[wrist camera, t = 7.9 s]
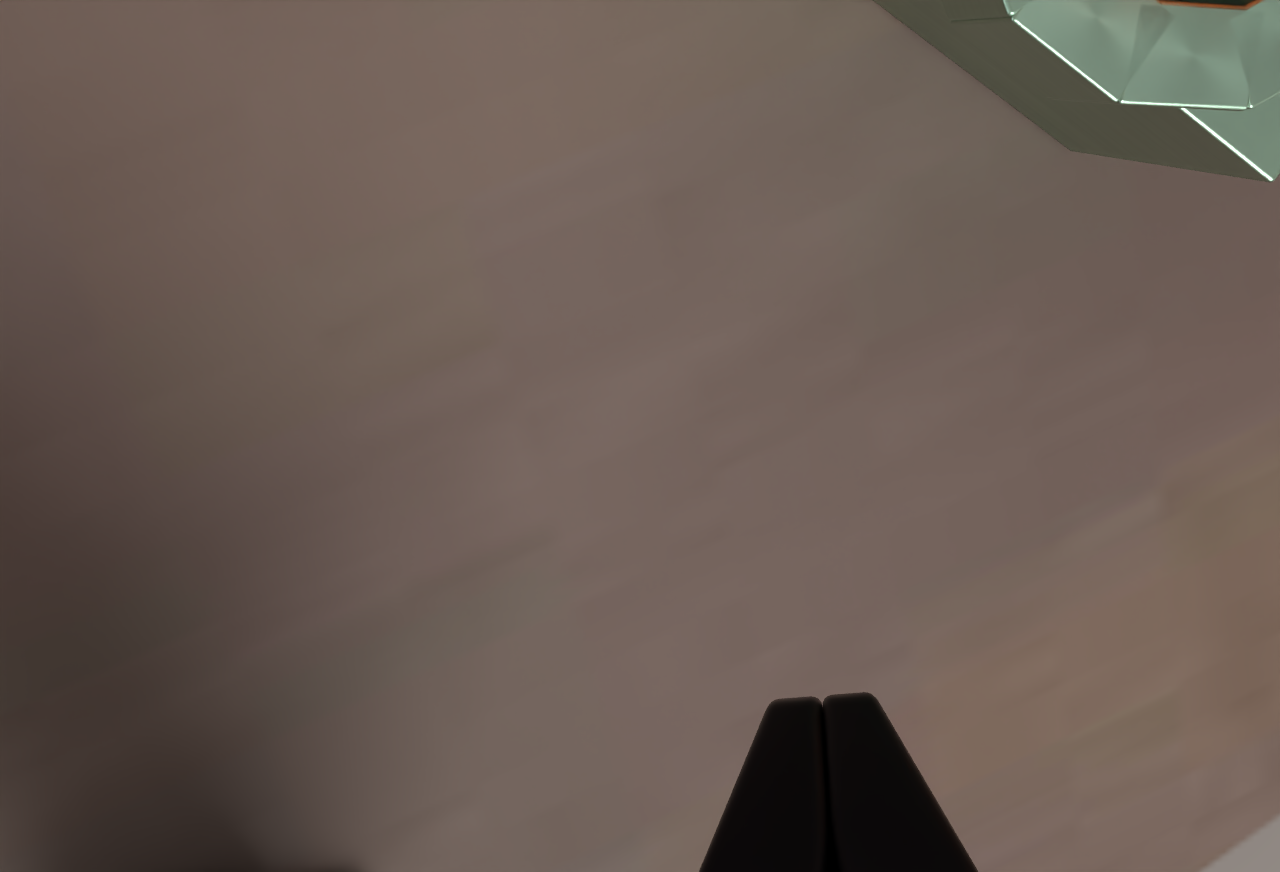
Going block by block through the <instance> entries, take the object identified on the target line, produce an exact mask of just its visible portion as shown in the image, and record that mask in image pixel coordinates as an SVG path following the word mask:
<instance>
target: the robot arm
mask: <svg viewBox="0 0 1280 872" xmlns="http://www.w3.org/2000/svg"><path fill="white" fill-rule="evenodd" d="M699 872H978V870H977V869H976V867H975V865H974V864H973V862H972V860H971V858H970V857H969V855H968V853H967V852H966V850H965V848H964V846H963V845H962V843H961V841H960V840H959V838H958V836H957V835H956V833H955V831H954V829H953V828H952V826H951V824H950V823H949V821H948V819H947V817H946V816H945V814H944V812H943V811H942V809H941V807H940V806H939V804H938V802H937V800H936V799H935V797H934V795H933V794H932V792H931V790H930V788H929V787H928V785H927V783H926V782H925V780H924V778H923V777H922V775H921V773H920V771H919V770H918V768H917V766H916V765H915V763H914V761H913V760H912V758H911V756H910V754H909V753H908V751H907V749H906V748H905V746H904V744H903V742H902V741H901V739H900V737H899V736H898V734H897V732H896V731H895V729H894V727H893V725H892V724H891V722H890V720H889V719H888V717H887V715H886V713H885V712H884V710H883V708H882V707H881V705H880V703H879V702H878V700H877V699H876V698H875V697H874V696H873V695H872V694H870V693H867V692H862V693H849V694H837V695H830V696H828V697H826V698H825V699H824V701H823V707H822V703H821V701H820V700H819V699H818V698H816V697H798V698H785V699H777V700H774V701H773V702H771V703H770V705H769V706H768V708H767V709H766V711H765V714H764V716H763V718H762V721H761V723H760V726H759V728H758V730H757V733H756V735H755V738H754V740H753V743H752V745H751V747H750V750H749V752H748V755H747V757H746V759H745V762H744V764H743V767H742V769H741V772H740V774H739V776H738V779H737V781H736V784H735V786H734V788H733V791H732V793H731V796H730V798H729V801H728V803H727V805H726V808H725V810H724V813H723V815H722V817H721V820H720V822H719V825H718V827H717V830H716V832H715V834H714V837H713V839H712V842H711V844H710V846H709V849H708V851H707V854H706V856H705V859H704V861H703V863H702V866H701V868H700V871H699Z"/></svg>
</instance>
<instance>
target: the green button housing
mask: <svg viewBox="0 0 1280 872" xmlns="http://www.w3.org/2000/svg"><path fill="white" fill-rule="evenodd" d="M873 1H875V2H876V3H877V4H879V5H880V6H881V7H883V8H884V9H885V10H886V11H888V12H889V13H890V14H892V15H893V16H894V17H896V18H897V19H898V20H900V21H901V22H902V23H904V24H905V25H906V26H907V27H909V28H910V29H911V30H913V31H914V32H915V33H917V34H918V35H919V36H921V37H922V38H923V39H925V40H926V41H927V42H929V43H930V44H931V45H932V46H934V47H935V48H936V49H938V50H939V51H940V52H942V53H943V54H944V55H946V56H947V57H948V58H950V59H951V60H952V61H953V62H955V63H956V64H957V65H959V66H960V67H961V68H963V69H964V70H965V71H967V72H968V73H969V74H971V75H972V76H973V77H975V78H976V79H977V80H978V81H980V82H981V83H982V84H984V85H985V86H986V87H988V88H989V89H990V90H992V91H993V92H994V93H996V94H997V95H998V96H999V97H1001V98H1002V99H1003V100H1005V101H1006V102H1007V103H1009V104H1010V105H1011V106H1013V107H1014V108H1015V109H1017V110H1018V111H1019V112H1021V113H1022V114H1023V115H1024V116H1026V117H1027V118H1028V119H1030V120H1031V121H1032V122H1034V123H1035V124H1036V125H1038V126H1039V127H1040V128H1042V129H1043V130H1044V131H1045V132H1047V133H1048V134H1049V135H1051V136H1052V137H1053V138H1055V139H1056V140H1057V141H1059V142H1060V143H1061V144H1063V145H1064V146H1065V147H1067V148H1068V149H1069V150H1070V151H1075V152H1081V153H1087V154H1094V155H1100V156H1107V157H1113V158H1119V159H1126V160H1132V161H1138V162H1145V163H1151V164H1157V165H1164V166H1170V167H1176V168H1183V169H1189V170H1195V171H1202V172H1208V173H1214V174H1221V175H1227V176H1233V177H1240V178H1246V179H1252V180H1259V181H1265V182H1273V181H1274V180H1275V179H1276V178H1277V176H1278V175H1279V174H1280V0H873Z"/></svg>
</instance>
